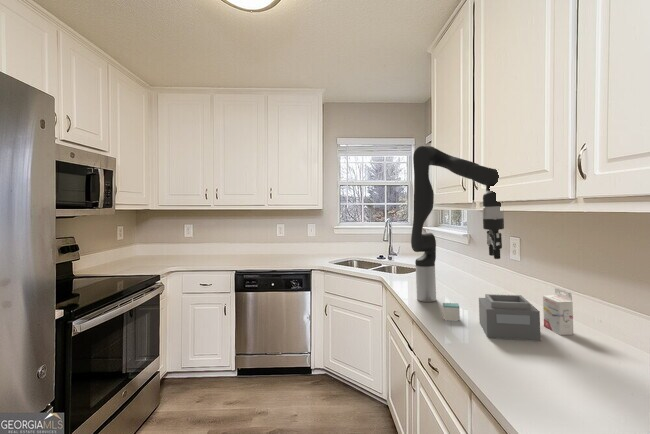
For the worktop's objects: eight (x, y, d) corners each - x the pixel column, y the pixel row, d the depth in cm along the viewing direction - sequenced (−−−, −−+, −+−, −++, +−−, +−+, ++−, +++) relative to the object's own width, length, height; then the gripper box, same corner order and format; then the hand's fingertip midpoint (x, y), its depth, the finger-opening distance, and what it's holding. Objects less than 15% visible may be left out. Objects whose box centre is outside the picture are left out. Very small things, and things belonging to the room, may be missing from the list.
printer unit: (479, 322, 121) (478, 292, 121) (525, 325, 117) (524, 293, 116) (487, 338, 107) (486, 303, 107) (540, 341, 103) (539, 305, 102)
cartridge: (443, 317, 129) (442, 302, 129) (458, 317, 128) (458, 303, 127) (443, 320, 126) (443, 305, 125) (459, 321, 124) (459, 306, 124)
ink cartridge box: (542, 326, 115) (541, 287, 115) (556, 325, 115) (555, 286, 115) (559, 335, 106) (558, 293, 106) (574, 335, 106) (573, 292, 106)
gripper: (479, 217, 134) (481, 254, 134) (486, 218, 120) (488, 260, 121) (499, 216, 132) (500, 254, 132) (508, 217, 118) (509, 260, 119)
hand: (494, 257), depth 127 cm, fingers open, 8 cm apart
